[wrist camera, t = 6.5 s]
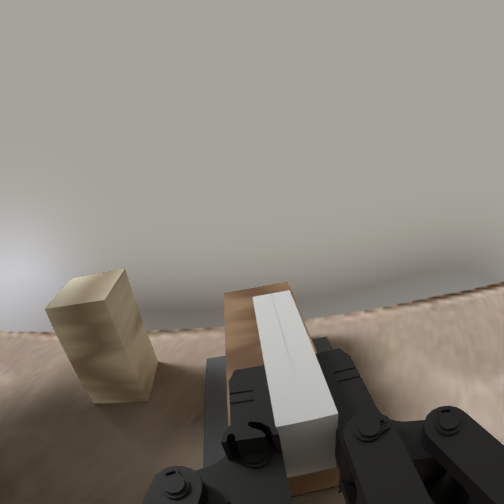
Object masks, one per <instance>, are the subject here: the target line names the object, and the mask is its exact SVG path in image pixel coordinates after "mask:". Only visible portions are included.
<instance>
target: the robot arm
mask: <svg viewBox="0 0 504 504" xmlns="http://www.w3.org/2000/svg"><path fill="white" fill-rule="evenodd" d="M253 303H254V309H255V314H256V320H257V326H258V331H259V337H260V343H261V348H262V354H263V360H264V365H261V366H256V367H250V368H244V369H237V370H234V372H233V374H232V376H231V378H230V380H229V395H230V396H229V400H230V422H231V425H230V426H229V427H228V428H227V429H226V431H225V432H224V433H223V435H222V440H221V444H222V446H223V449H224V451H225V453H226V455H225V457H224V458H222V459H221V460H220V461H219V462H217V463H215V464H213V465H211V466H208V467H205V468H202V469H200V470H197V471H193V470H192V469H190V468H187V467H184V466H173V467H170V468H167V469H164V470H162V471H161V472H160V473H158V474H157V475H156V476H155V478H154V479H153V481H152V482H151V485H150V487H149V489H148V492H147V494H146V496H145V499H144V501H143V504H292V499H291V494H290V489H289V484H288V479H287V478H289V477H294V476H299V475H304V474H309V473H313V472H318V471H322V470H326V469H330V468H334V467H336V462H337V465H338V468H339V471H340V477H339V493H340V492H342V491H343V494H344V498H345V501H346V504H504V445H502V444H501V443H500V442H499V441H498V440H497V439H496V438H494V437H493V436H492V435H491V434H490V433H489V432H487V431H486V430H485V429H484V428H483V427H482V426H480V425H479V424H478V423H477V422H476V421H475V420H473V419H472V418H471V417H470V416H469V415H468V414H466V413H465V412H464V411H462V410H461V409H459V408H457V407H452V406H443V407H439V408H436V409H434V410H432V411H431V412H430V413H429V414H428V415H427V417H426V419H425V420H420V421H408V422H399V421H394V420H391V419H389V418H388V417H386V416H384V415H382V414H381V413H380V412H379V410H378V409H377V407H376V405H375V403H374V401H373V399H372V398H371V396H370V394H369V392H368V390H367V388H366V386H365V384H364V382H363V380H362V378H361V377H360V374H359V372H358V370H357V369H356V367H355V365H354V363H353V361H352V359H351V357H350V356H349V355H348V354H346V353H345V352H344V351H342V350H341V349H340V348H339V349H334V350H330V351H326V352H321V353H317V354H315V352H314V350H313V347H312V345H311V342H310V340H309V337H308V335H307V332H306V330H305V327H304V325H303V322H302V320H301V317H300V315H299V312H298V310H297V307H296V305H295V302H294V300H293V297H292V295H291V292H290V290H287V291H282V292H277V293H271V294H266V295H260V296H255V297H253Z"/></svg>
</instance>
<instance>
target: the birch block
mask: <svg viewBox="0 0 504 504" xmlns="http://www.w3.org/2000/svg"><path fill="white" fill-rule="evenodd" d="M45 310H46V313H47V315H48V317H49V319H50V322H51V324H52V326H53V328H54V330H55V333H56V335H57V337H58V339H59V341H60V343H61V345H62V347H63V349H64V351H65V353H66V355H67V357H68V359H69V360H70V362H71V364H72V366H73V368H74V370H75V372H76V373H77V375H78V377H79V379H80V381H81V382H82V384H83V386H84V387H85V389H86V391H87V393H88V394H89V396H90V398H91V399H92V401H93V403H126V402H145V401H149V400H150V395H151V391H152V386H153V382H154V377H155V373H156V369H157V364H158V360H157V357H156V355H155V352H154V350H153V347H152V345H151V342H150V339H149V337H148V334H147V331H146V329H145V326H144V323H143V321H142V318H141V315H140V312H139V310H138V307H137V304H136V301H135V298H134V295H133V292H132V289H131V286H130V283H129V280H128V277H127V274H126V271H125V269H120V270H115V271H109V272H105V273H99V274H93V275H88V276H83V277H77V278H73V279H71V280H70V281H69V282H68V283H67V284H66V285H65V287H63V289H62V290H61V291H60V292H59V293H58V294H57V295H56V296H55V298H54V299H53V300H52V301H51V302H50V303H49V304H48V306H47V307H46V308H45Z"/></svg>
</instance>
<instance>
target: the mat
mask: <svg viewBox="0 0 504 504" xmlns="http://www.w3.org/2000/svg"><path fill="white" fill-rule="evenodd" d="M312 342H313V344H314V347H315V349H316V352H317V353H321V352H326V351H330V350H333V349H332V347H331V345H330V343H329V341H328V339H327V337H323V338H319V339H314V340H312ZM227 428H228V406H227V379H226V356H222V357H216V358H209V359H207V367H206V392H205V423H204V468H205V467H208V466H211V465H213V464H215V463H217V462H219V461H220V460H221V459H222V458H224V457H225V455H226V453H225V451H224V449H223V446H222V444H221V440H222V435H223V433H224V432H225V431H226V429H227Z"/></svg>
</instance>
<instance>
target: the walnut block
mask: <svg viewBox="0 0 504 504" xmlns="http://www.w3.org/2000/svg"><path fill="white" fill-rule="evenodd" d="M287 290H290V292H291V289H290V287H289V285H288V282H284V283H278V284H273V285H267V286H262V287H257V288H251V289H246V290H240V291H234V292H228V293H224V306H225V348H226V379H227V406H228V427H229V426H230V425H231V422H230V400H229V396H230V395H229V380H230V378H231V376H232V374H233V372H234V370H237V369H244V368H250V367H256V366H261V365H264V360H263V354H262V348H261V343H260V337H259V331H258V326H257V320H256V314H255V309H254V303H253V297H255V296H260V295H266V294H271V293H277V292H282V291H287ZM291 295H292V297H293V300H294V302H295V305H296V307H297V310H298V312H299V315H300V317H301V320H302V322H303V325H304V327H305V330H306V332H307V335H308V337H309V340H310V342H311V345H312V347H313V350H314V352H315V354H317V352H316V349H315V347H314V344H313V342H312V339H311V337H310V335H309V332H308V330H307V327H306V325H305V323H304V320H303V318H302V315H301V313H300V311H299V308H298V306H297V303H296V301H295V299H294V296H293V294H292V292H291ZM339 477H340V471H339V468H338V465H337V462H336V467H334V468H330V469H326V470H322V471H318V472H313V473H309V474H304V475H299V476H294V477H289V478H287V479H288V484H289V489H290V494H291V496H294V495H299V494H304V493H309V492H313V491H318V490H322V489H326V488H330V487H334V486H338V485H339Z"/></svg>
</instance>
